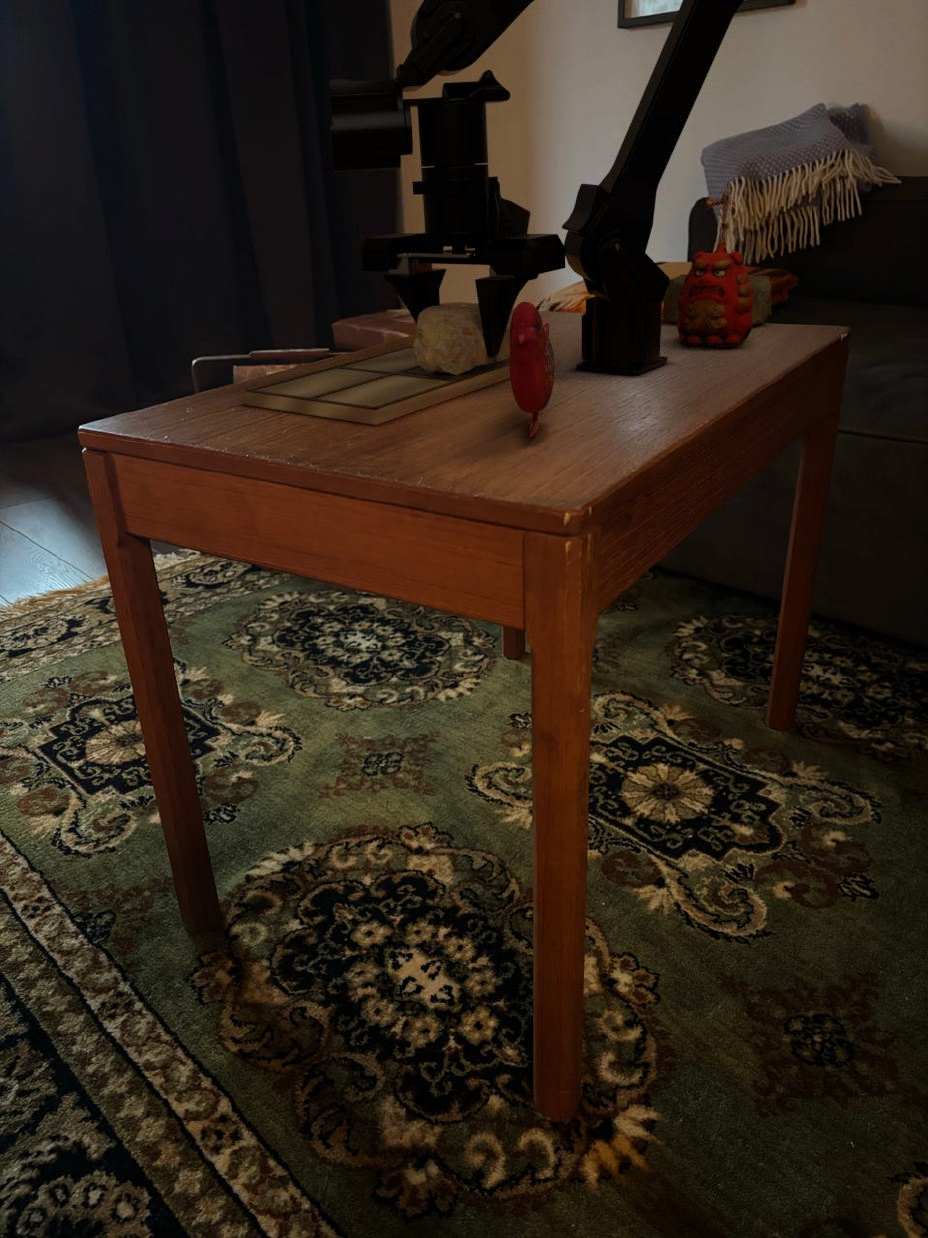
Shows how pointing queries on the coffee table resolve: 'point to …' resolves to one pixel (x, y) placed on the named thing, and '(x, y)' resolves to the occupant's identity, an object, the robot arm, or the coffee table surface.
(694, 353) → the coffee table surface
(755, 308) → the stone block
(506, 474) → the coffee table surface
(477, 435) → the coffee table surface
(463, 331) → the stone tool
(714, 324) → the red clay folk toy
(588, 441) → the coffee table surface
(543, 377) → the decorative bird figurine
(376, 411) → the board
